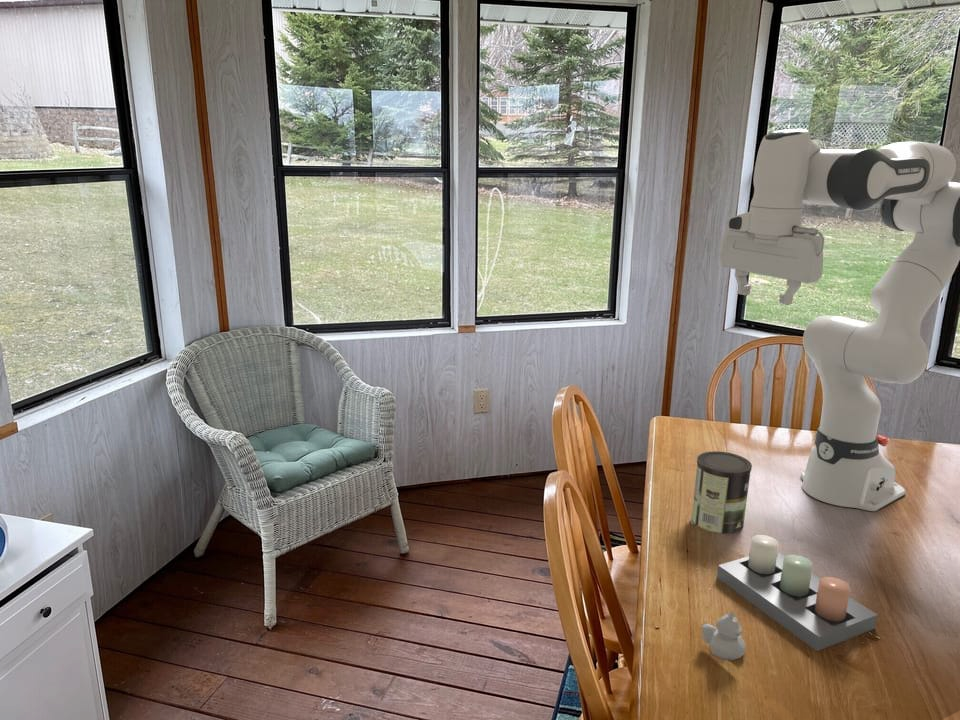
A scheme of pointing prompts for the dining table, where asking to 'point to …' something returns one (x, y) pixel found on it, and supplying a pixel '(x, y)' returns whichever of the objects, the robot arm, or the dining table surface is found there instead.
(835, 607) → the terracotta button
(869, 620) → the grey rectangular tray
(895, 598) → the dining table surface
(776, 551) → the ivory button
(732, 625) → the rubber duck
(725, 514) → the coffee can
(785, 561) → the sage button
